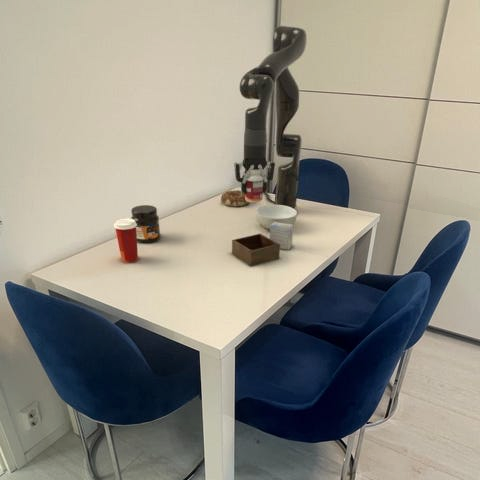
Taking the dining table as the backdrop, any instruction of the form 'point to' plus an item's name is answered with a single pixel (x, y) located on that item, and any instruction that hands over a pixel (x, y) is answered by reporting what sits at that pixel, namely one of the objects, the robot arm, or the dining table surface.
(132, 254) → the paper cup
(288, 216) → the cereal bowl
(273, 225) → the medicine box
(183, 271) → the dining table surface
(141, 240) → the supplement container
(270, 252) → the crate
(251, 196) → the pill bottle
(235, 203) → the donut
